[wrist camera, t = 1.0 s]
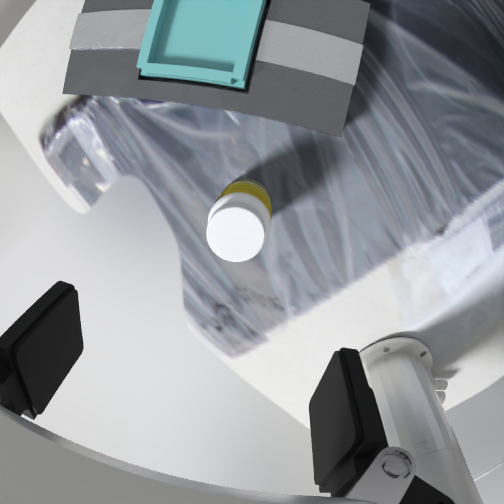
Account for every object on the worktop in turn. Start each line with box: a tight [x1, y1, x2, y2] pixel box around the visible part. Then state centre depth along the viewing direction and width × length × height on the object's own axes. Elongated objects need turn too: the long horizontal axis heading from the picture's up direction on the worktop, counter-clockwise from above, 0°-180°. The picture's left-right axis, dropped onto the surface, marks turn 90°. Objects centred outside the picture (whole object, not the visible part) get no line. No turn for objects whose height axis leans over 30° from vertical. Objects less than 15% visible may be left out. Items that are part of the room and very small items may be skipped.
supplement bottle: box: [207, 179, 271, 262], centre depth 25 cm, size 5×5×8 cm
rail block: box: [63, 0, 370, 137], centre depth 21 cm, size 24×12×4 cm, turn 78°
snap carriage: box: [136, 0, 267, 90], centre depth 20 cm, size 8×8×3 cm
